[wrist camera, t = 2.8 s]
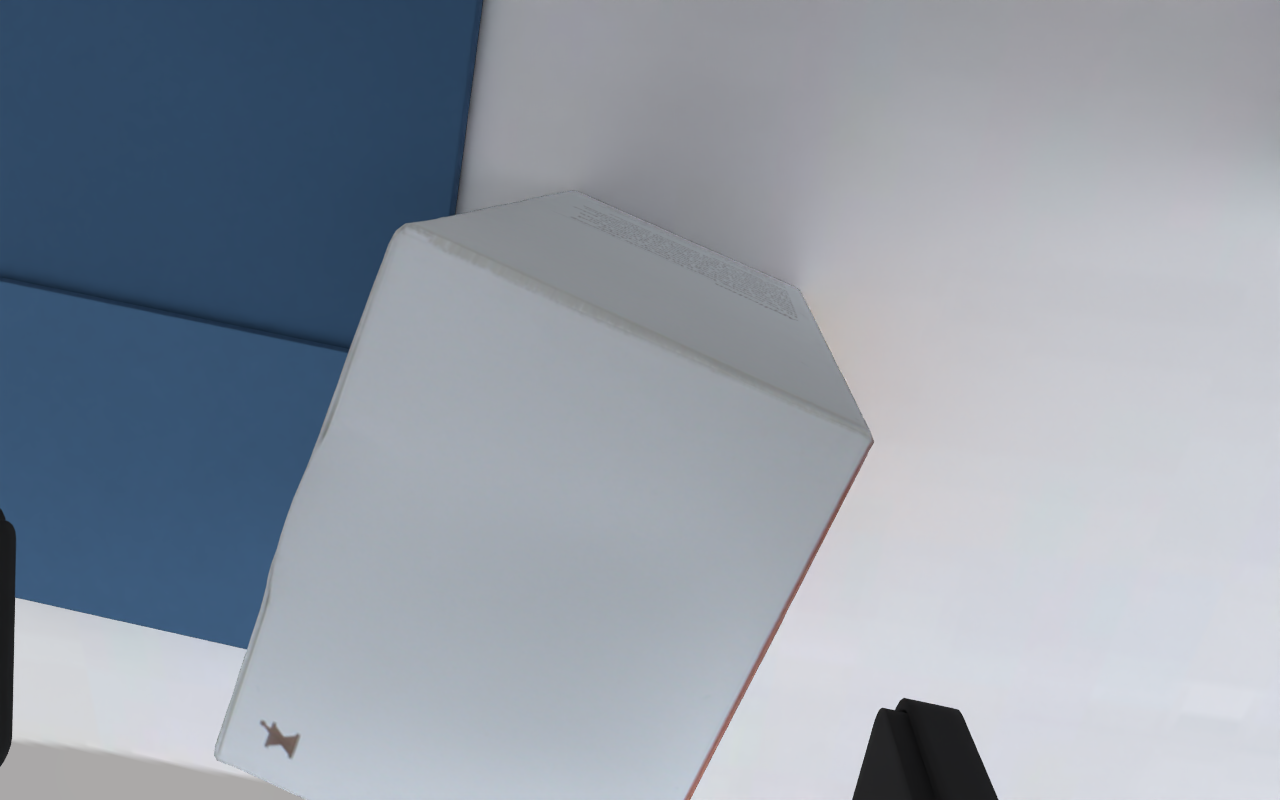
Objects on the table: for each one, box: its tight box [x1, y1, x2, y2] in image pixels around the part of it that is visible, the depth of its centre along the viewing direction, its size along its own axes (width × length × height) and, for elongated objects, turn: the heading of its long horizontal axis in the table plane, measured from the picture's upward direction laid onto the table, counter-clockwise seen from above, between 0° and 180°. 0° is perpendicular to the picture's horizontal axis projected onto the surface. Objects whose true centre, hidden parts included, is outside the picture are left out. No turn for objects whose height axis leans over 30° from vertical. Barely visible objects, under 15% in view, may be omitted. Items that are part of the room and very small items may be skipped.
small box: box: [214, 191, 874, 800], centre depth 18 cm, size 8×6×13 cm
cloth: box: [0, 0, 483, 649], centre depth 25 cm, size 12×20×1 cm, turn 169°
